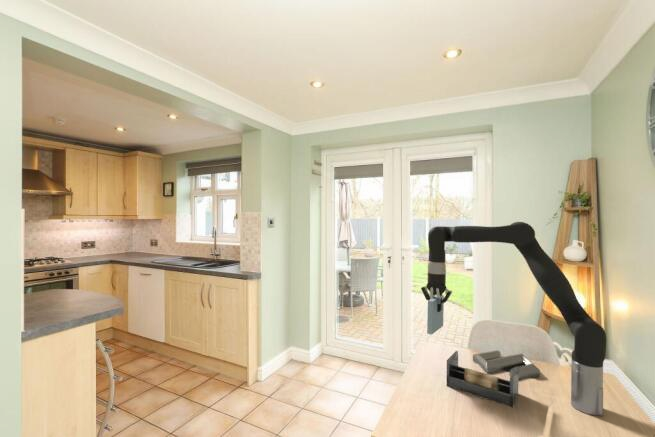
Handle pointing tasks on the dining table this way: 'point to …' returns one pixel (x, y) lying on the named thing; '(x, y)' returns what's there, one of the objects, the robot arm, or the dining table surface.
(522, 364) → the emblem
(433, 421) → the dining table surface
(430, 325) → the blue sheet
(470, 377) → the offcut short
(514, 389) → the rack
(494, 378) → the offcut long
